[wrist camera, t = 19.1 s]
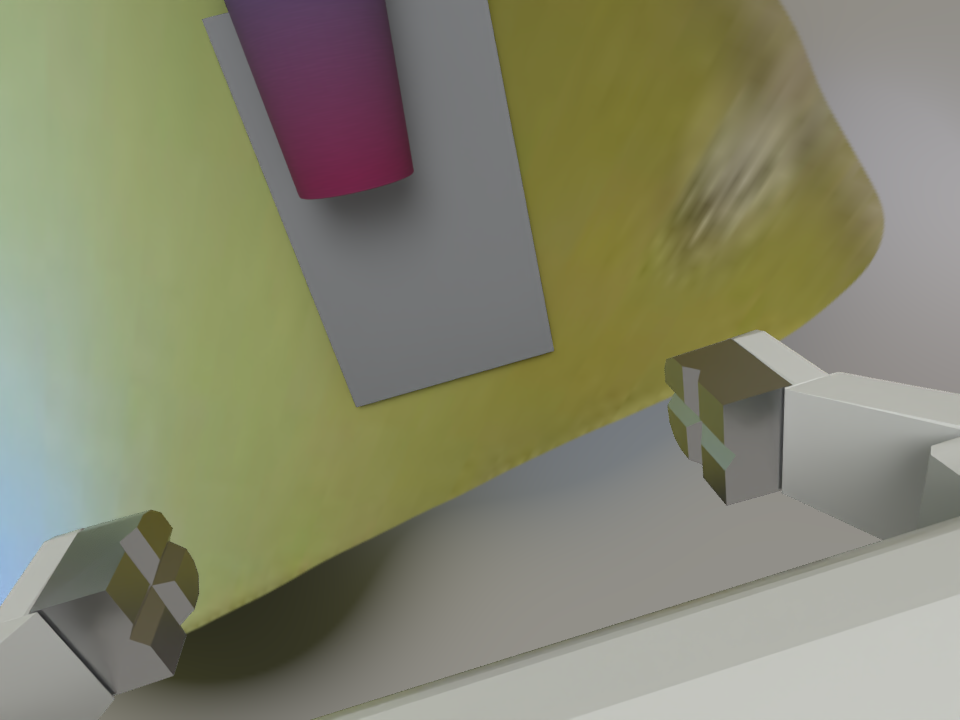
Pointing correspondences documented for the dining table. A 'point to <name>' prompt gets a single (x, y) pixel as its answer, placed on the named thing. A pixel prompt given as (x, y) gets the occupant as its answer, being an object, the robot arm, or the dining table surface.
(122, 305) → the dining table surface
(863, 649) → the robot arm
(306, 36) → the cup
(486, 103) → the mat
